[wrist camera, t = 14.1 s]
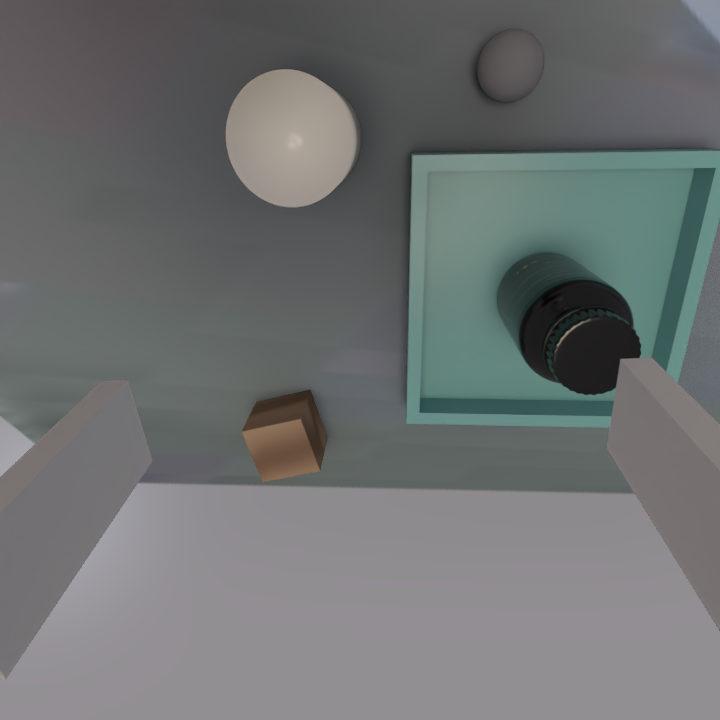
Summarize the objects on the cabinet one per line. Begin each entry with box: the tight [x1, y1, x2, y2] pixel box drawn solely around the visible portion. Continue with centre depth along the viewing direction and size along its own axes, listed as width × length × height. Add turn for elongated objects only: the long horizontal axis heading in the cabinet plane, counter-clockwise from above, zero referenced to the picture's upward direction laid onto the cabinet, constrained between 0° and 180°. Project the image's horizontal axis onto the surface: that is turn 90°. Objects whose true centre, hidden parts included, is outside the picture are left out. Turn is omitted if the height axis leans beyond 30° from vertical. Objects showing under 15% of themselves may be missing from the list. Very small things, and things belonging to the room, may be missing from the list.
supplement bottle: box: [497, 253, 641, 395], centre depth 34 cm, size 7×7×12 cm
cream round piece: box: [226, 69, 361, 207], centre depth 33 cm, size 7×7×9 cm
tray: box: [406, 148, 720, 428], centre depth 39 cm, size 20×20×4 cm
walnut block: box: [242, 390, 327, 482], centre depth 44 cm, size 5×5×5 cm
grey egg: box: [477, 29, 544, 102], centre depth 33 cm, size 4×4×4 cm
